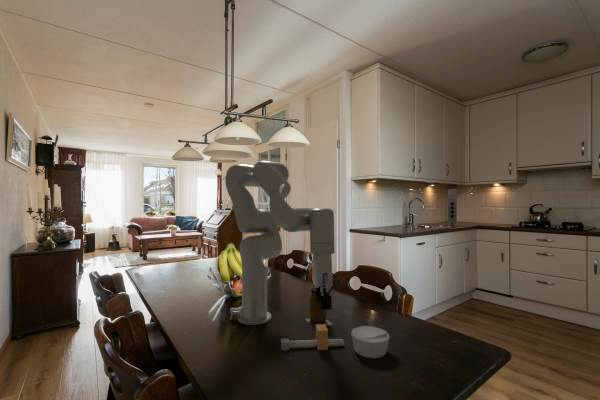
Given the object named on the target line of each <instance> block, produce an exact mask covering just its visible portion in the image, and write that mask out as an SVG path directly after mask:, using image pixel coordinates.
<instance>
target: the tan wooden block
mask: <svg viewBox="0 0 600 400" xmlns="http://www.w3.org/2000/svg"><path fill="white" fill-rule="evenodd" d="M328 339H329V329H328V327H327V326H326V325H325V324H316V327H315V340H318V347H317V351H328V350H329V347H328Z"/></svg>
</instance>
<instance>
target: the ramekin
mask: <svg viewBox="0 0 600 400" xmlns="http://www.w3.org/2000/svg"><path fill="white" fill-rule="evenodd" d="M350 333H351V334H350V335H351V338H352V345H353V350H354V351H355V353H357V355H359V356H361V357H364V358H368V359H380V358H383V357H384V356H385V355H386V354H387V351H388V348H389V347H388V346H389V341H390V335H389V333H388V331H386V330H384V329H382V328H380V327H377V326H376V327H375V326H368V325H367V326H366V325H363V326H361V325H360V326H357V327H354V328H353V329H351V332H350Z"/></svg>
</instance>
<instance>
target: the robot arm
mask: <svg viewBox="0 0 600 400" xmlns="http://www.w3.org/2000/svg"><path fill="white" fill-rule="evenodd" d="M289 176H290V173H289V169H288V167H286V165H285V164H283V163H281V162H274V161H269V160H260V161H258V162H256V163H255V164H254V165H252V164H251V165H250V164H243V163H241V164H240V163H239V164H234V165H231V166H229V168H228V169H227V170H226V173H225V178H224V183H225V188H226V190H227V191H226V192H227V193H228V195H229V197H230V200H231V203H232V207H233V213H234V216H235V219H236V224H237V228H238V230H239V231H240V232H241V233H242V234H246V235H247V234H257V235H249V236H247V237H244V238H243V239H242V240H241V241H240V244H239V246H238V247H239V249H238V250H239V255H240V261H241V306H239V307H237V308H236V307H230V308H229V309H230V310H229V314H232V315H233V316H237V321H238V323H240V324H241V325H242V324H243V325H248V326H256V325H262V324H266V323H268V322H269V321H271V320H272V314H271V312H269V311H268V271H267V268H266V265H265V263H264V262H263V261H264V260H268V259H274V258H278V257H279V256H280V255H281V253H282V251H283V242H282V237H281V234H280V231H279V227H280V228H282V229H283V230H284V231H285V232H288V233H298V232H309V241H310V242H309V246H310V247H309V249H310V250H309V251H310V252H309V253H310V254H311V255H312V274H311V275H312V276H311V278H312V279H311V280H312V283H313V285H314V288H316V300H320V303H321V310H326V311H327V310H332V308H333V306H332V302H333V300H332V298H333V297H332V289H331V288H332V286H333V263H332V262H333V260H332V255H333V254H335V253H336V251H335V216H334V215H335V214H334V213H335V212H334V210H333V209H331V208H311V207H306V208H305V207H291V206H290V205H289V204H288V202H287V201H286V200H285V199H286V198H288V196H289V195H290V193H291V189H292V186H291V184H290V183H289V181H288V179H289ZM246 187H257V188H261V189H262V190H263V191H264V192H265V194H266V195H267V196H268V197H269V209H270V210H268V209H263V208H262V209H259V208H257V206H256V204H255V200H254V198H253V195H252V194H251V192H250V191H249V190H248V189H247V188H246ZM278 226H279V227H278ZM258 234H259V235H258Z"/></svg>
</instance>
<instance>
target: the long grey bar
mask: <svg viewBox="0 0 600 400" xmlns="http://www.w3.org/2000/svg"><path fill="white" fill-rule="evenodd" d="M344 344H345V340H344V339H342V338H335V339H333V338H330V339H329V338H328V348H329V347H343V346H344ZM298 348H299V349H300V348H318V340H316V339H307V340H306V339H304V340H303V339H302V340H301V339H300V340H290V339H289V338H280V350H281V351H290V349H298Z"/></svg>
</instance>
